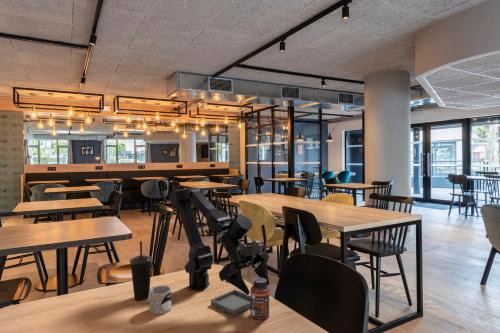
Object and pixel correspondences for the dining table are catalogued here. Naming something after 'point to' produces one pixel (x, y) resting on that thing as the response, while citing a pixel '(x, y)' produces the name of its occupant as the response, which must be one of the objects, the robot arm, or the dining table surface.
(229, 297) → the tray
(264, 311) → the supplement bottle
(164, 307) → the mug
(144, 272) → the drinking cup
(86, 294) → the dining table surface
